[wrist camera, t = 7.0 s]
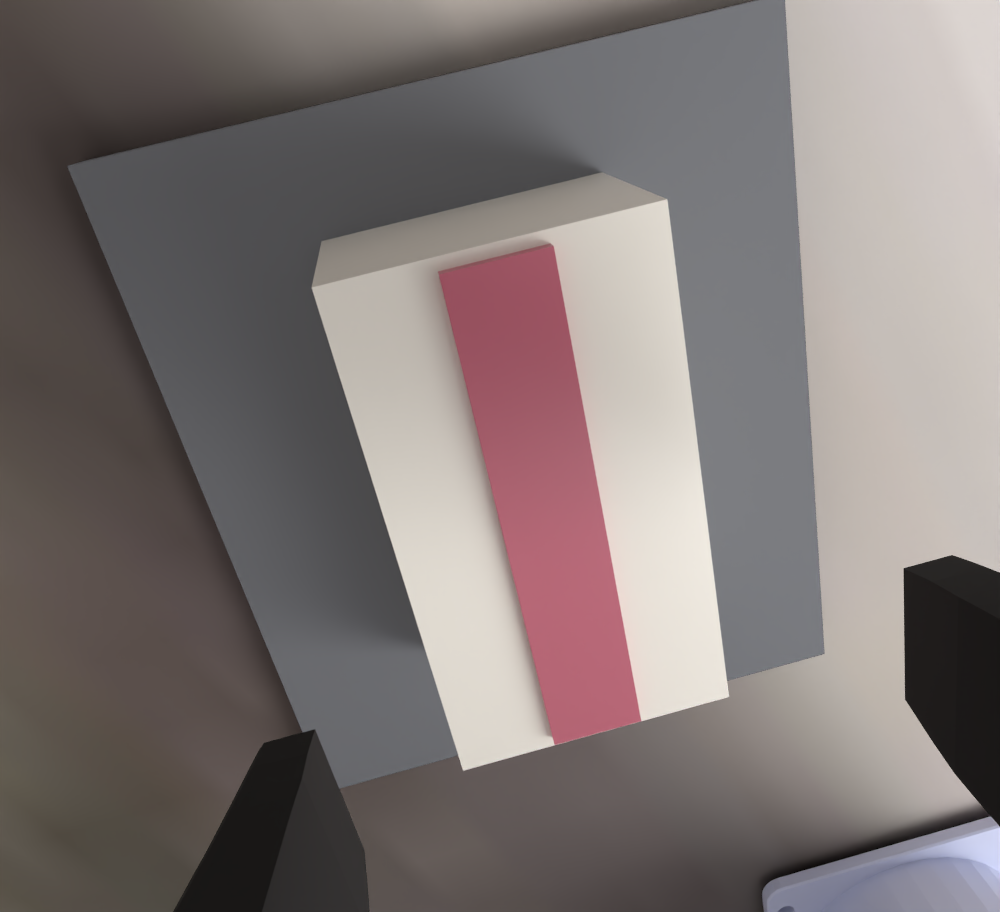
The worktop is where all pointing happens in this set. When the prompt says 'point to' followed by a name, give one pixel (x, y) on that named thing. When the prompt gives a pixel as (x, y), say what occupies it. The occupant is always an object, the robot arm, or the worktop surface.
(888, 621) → the worktop surface
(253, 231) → the mat
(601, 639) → the card deck
